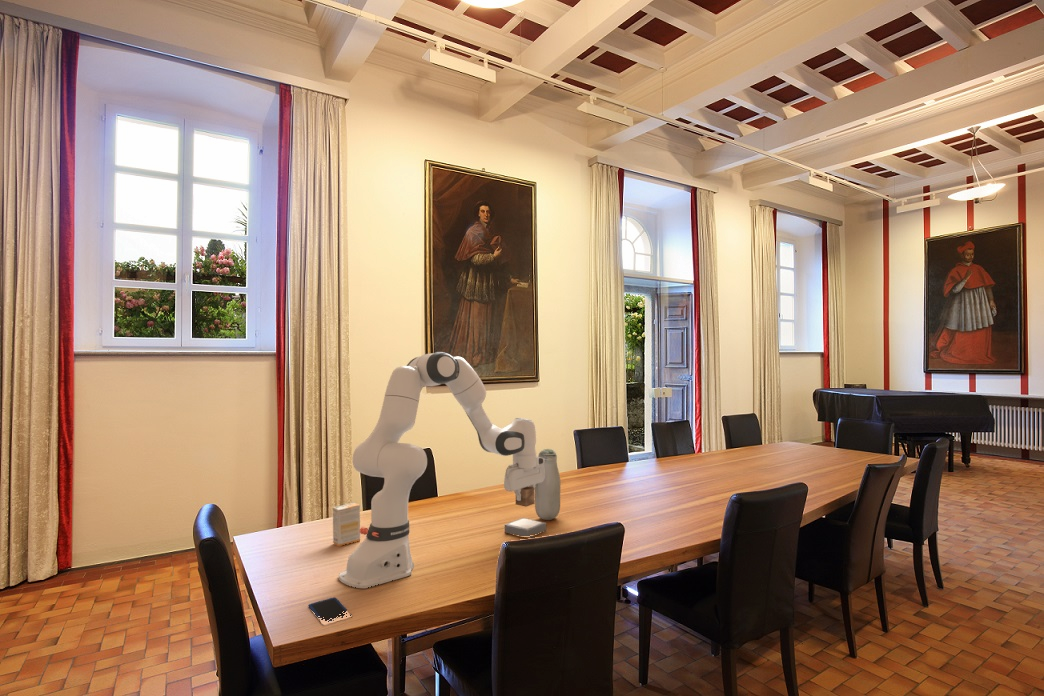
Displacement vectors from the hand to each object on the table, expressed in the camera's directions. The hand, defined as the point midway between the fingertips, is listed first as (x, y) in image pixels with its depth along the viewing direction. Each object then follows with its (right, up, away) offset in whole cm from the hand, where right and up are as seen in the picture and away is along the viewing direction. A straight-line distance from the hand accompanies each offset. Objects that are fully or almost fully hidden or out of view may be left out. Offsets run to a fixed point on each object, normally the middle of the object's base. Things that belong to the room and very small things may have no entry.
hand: (525, 498), depth 200 cm
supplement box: (-64, -13, -10) cm, 66 cm away
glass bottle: (+9, -13, +15) cm, 22 cm away
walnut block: (0, -2, 0) cm, 2 cm away
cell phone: (-51, -12, -62) cm, 81 cm away
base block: (0, -12, 0) cm, 12 cm away
